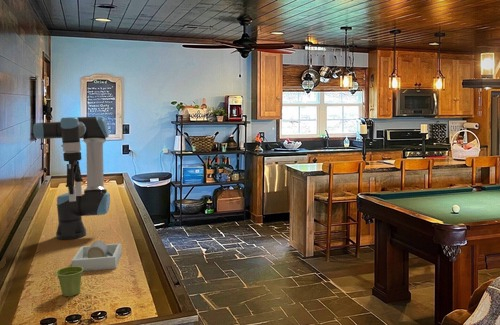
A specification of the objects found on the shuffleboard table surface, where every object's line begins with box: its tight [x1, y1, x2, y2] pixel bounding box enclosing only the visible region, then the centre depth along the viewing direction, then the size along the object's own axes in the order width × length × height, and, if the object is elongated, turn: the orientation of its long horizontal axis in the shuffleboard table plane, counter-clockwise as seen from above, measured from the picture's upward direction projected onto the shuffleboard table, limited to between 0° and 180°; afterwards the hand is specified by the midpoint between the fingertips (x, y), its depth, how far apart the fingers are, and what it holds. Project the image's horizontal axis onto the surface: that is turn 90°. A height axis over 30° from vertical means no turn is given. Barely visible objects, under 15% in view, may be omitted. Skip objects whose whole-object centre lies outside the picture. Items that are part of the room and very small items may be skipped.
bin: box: [71, 243, 122, 273], centre depth 202 cm, size 20×17×5 cm
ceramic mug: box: [87, 240, 113, 258], centre depth 202 cm, size 11×8×8 cm
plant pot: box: [55, 265, 84, 297], centre depth 168 cm, size 9×9×9 cm
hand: (75, 198), depth 211 cm, fingers open, 13 cm apart
